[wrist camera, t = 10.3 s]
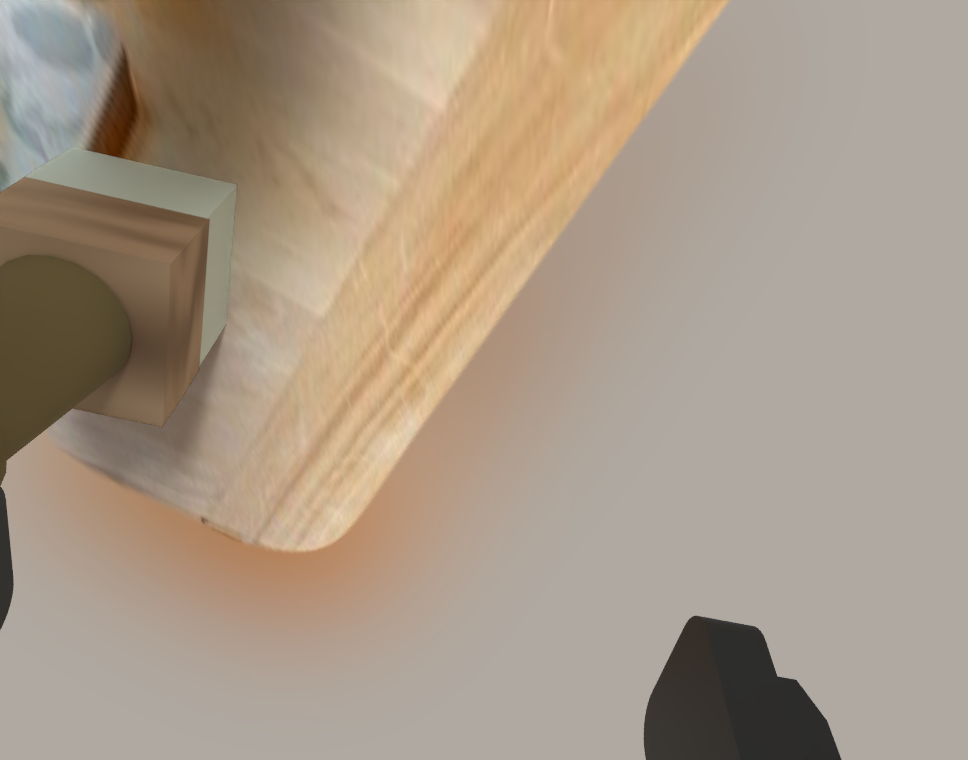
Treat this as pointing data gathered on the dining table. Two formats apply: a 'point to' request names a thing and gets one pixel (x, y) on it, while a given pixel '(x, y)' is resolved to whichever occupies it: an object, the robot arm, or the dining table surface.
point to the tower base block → (169, 194)
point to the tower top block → (123, 283)
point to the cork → (53, 344)
